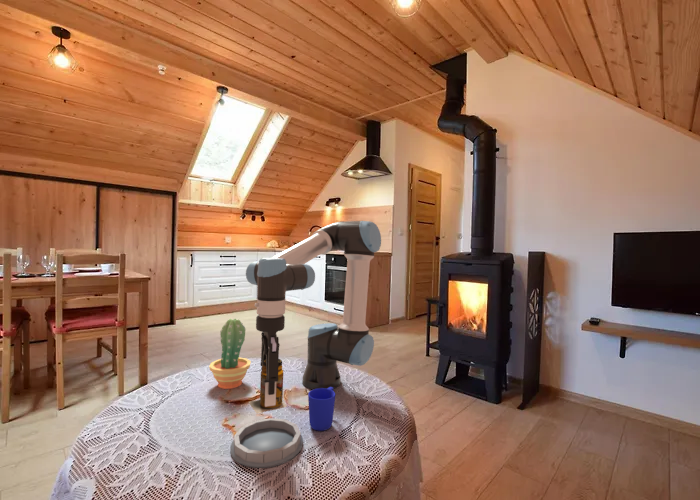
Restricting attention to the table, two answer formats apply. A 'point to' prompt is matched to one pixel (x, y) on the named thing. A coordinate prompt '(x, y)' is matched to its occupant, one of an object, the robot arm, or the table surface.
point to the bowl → (266, 443)
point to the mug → (321, 408)
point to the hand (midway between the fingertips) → (268, 399)
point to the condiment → (260, 404)
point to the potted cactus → (231, 356)
